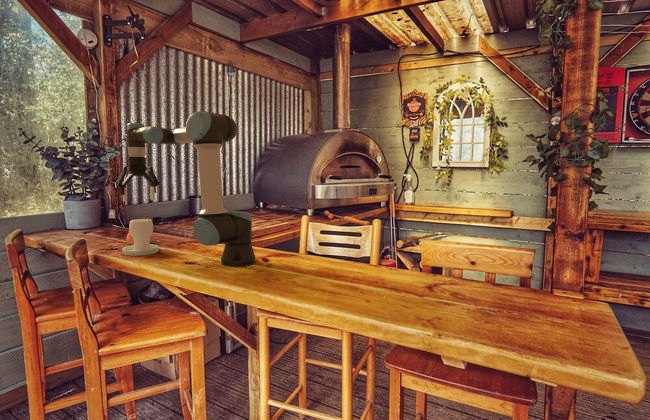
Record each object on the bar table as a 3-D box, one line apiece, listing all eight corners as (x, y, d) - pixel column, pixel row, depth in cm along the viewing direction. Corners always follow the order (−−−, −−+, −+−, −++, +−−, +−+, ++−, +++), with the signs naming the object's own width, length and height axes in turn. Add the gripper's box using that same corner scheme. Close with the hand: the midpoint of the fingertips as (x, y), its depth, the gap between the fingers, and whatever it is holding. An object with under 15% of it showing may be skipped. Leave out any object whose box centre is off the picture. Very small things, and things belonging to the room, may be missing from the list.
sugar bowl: (134, 241, 216) (133, 223, 215) (159, 242, 215) (158, 224, 214) (121, 246, 204) (120, 227, 202) (148, 247, 203) (147, 227, 202)
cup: (158, 248, 197) (157, 219, 196) (146, 253, 187) (145, 222, 185) (138, 247, 198) (136, 218, 196) (125, 252, 188) (124, 221, 186)
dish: (165, 251, 194) (164, 247, 193) (132, 257, 181) (132, 252, 181) (148, 246, 203) (147, 242, 203) (116, 252, 191) (116, 247, 190)
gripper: (157, 156, 199) (159, 198, 201) (106, 155, 179) (108, 202, 181) (165, 156, 194) (167, 199, 197) (113, 155, 174) (116, 203, 177)
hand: (139, 200), depth 189 cm, fingers open, 13 cm apart
